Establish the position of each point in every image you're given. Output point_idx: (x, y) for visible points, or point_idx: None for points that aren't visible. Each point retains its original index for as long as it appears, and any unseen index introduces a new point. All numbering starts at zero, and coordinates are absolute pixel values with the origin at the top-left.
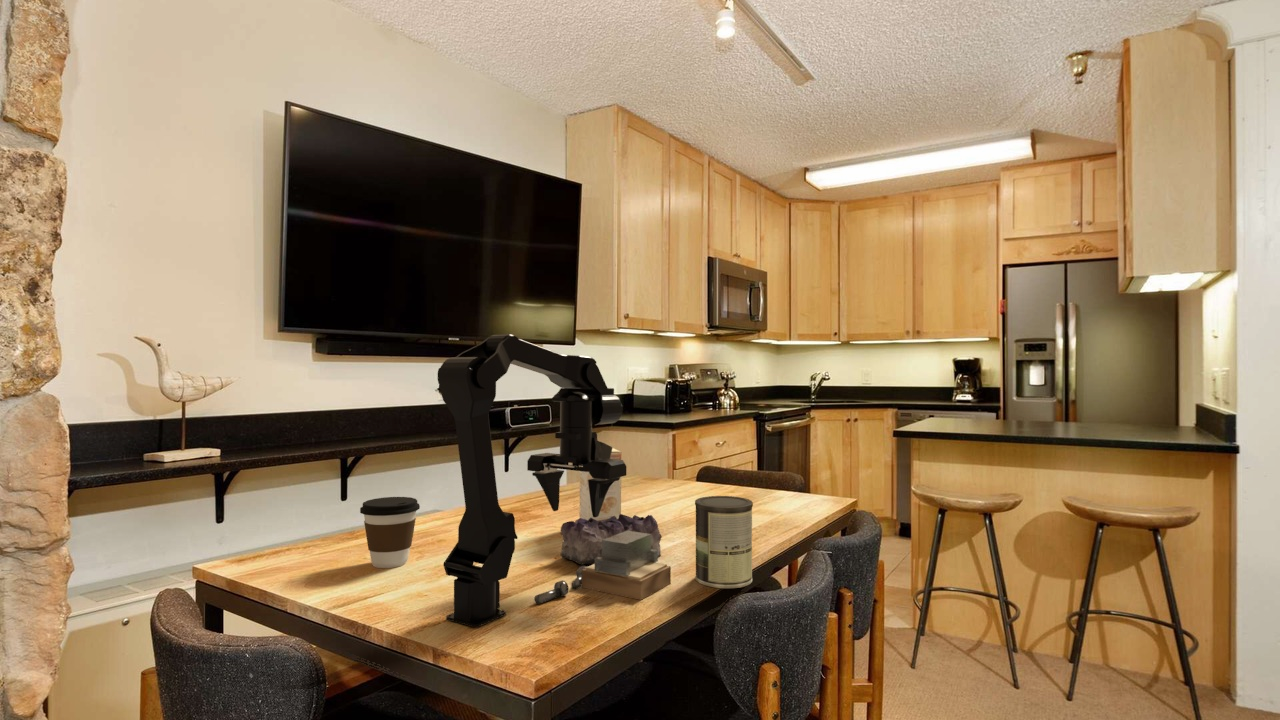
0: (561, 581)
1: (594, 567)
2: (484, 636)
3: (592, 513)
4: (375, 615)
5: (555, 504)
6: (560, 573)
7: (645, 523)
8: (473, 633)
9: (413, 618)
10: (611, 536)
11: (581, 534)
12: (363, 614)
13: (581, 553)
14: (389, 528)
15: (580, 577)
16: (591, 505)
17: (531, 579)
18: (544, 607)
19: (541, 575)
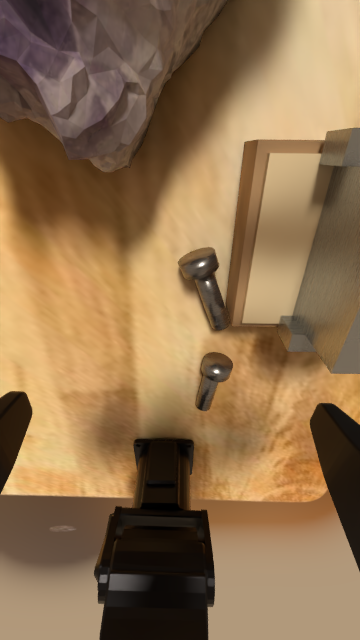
0: (219, 377)
1: (264, 312)
2: (214, 475)
3: (317, 447)
4: (59, 485)
5: (12, 443)
6: (107, 241)
7: None
8: (197, 475)
9: (102, 476)
10: (354, 320)
11: (80, 155)
12: (46, 487)
13: (115, 169)
14: None
15: (216, 302)
16: (341, 511)
17: (89, 313)
18: (222, 402)
19: (82, 280)
